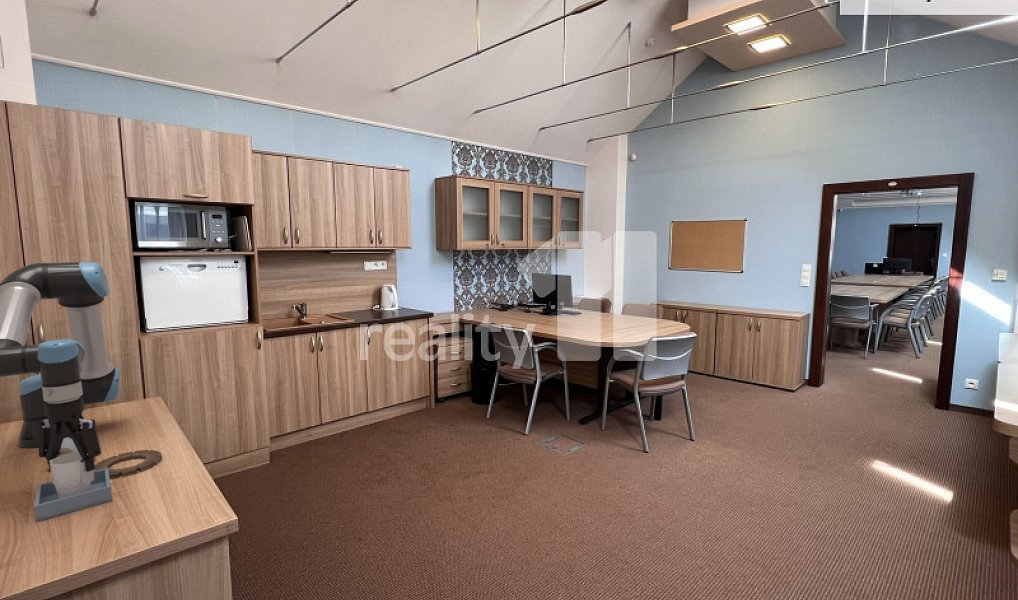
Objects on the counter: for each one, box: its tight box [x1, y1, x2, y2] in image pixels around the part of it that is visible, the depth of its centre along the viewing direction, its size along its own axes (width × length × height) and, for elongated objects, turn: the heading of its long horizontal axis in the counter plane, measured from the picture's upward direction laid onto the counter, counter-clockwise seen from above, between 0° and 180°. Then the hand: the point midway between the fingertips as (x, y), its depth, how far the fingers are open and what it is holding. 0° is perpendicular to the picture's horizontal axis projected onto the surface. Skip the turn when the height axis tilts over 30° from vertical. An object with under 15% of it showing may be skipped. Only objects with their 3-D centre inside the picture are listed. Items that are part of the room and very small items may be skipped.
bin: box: [33, 468, 113, 523], centre depth 128 cm, size 15×15×4 cm
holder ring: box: [93, 449, 163, 480], centre depth 148 cm, size 17×17×1 cm
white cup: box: [50, 452, 91, 499], centre depth 128 cm, size 8×8×10 cm
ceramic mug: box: [46, 437, 96, 464], centre depth 149 cm, size 11×8×8 cm
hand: (73, 481), depth 128 cm, fingers closed on white cup, 8 cm apart
